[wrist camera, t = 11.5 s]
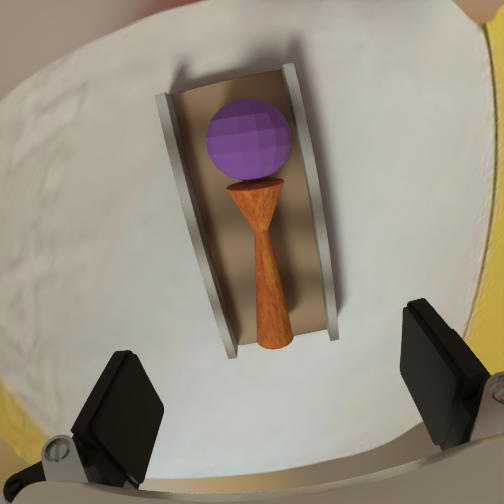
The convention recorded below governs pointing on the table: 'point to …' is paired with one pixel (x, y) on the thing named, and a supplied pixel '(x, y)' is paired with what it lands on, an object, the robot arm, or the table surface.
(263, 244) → the kendama
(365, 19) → the table surface
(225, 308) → the rail cradle
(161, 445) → the table surface
